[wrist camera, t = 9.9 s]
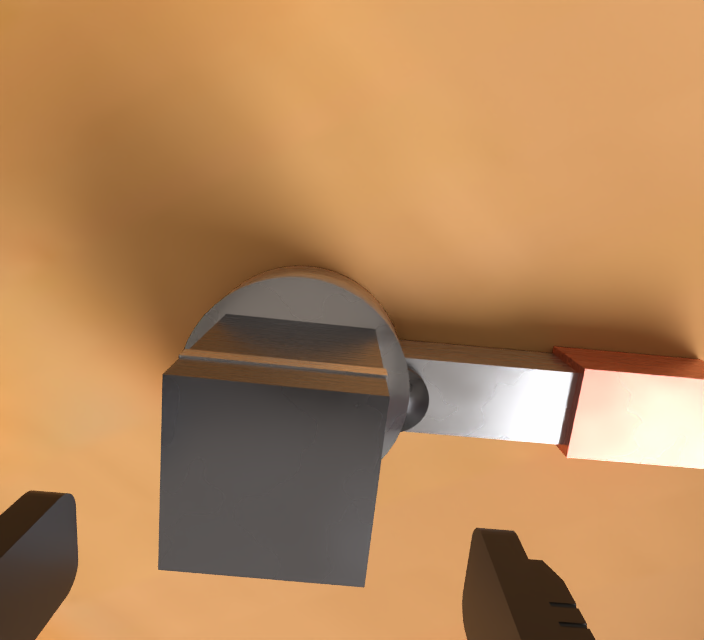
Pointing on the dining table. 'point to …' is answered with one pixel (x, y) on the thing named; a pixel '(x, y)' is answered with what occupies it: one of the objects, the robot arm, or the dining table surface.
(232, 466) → the grey block
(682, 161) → the dining table surface
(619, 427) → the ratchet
